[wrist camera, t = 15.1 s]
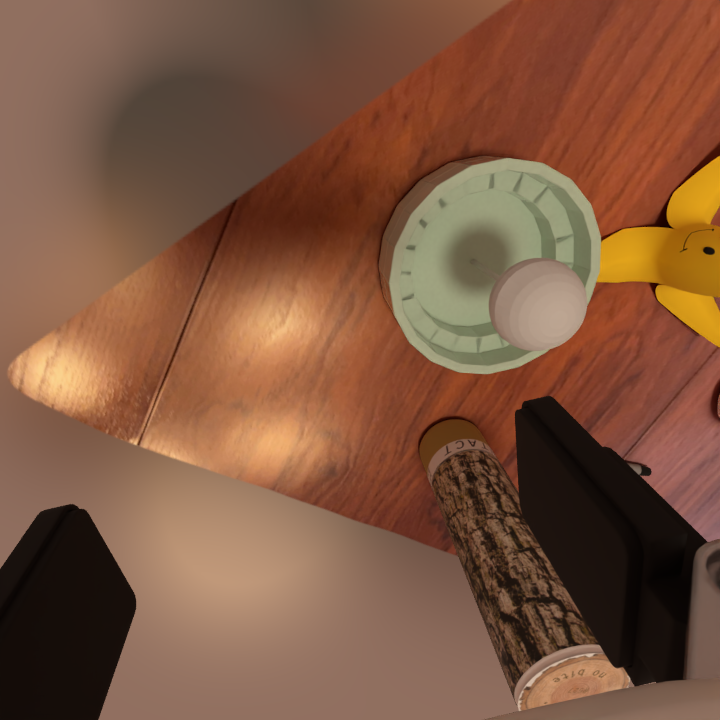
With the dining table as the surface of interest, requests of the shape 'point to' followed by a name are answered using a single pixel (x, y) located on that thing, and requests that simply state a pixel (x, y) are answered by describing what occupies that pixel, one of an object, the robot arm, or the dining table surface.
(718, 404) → the cat figurine
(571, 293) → the lollipop
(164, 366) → the dining table surface
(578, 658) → the paper tube
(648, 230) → the banana peel
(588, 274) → the bowl
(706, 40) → the dining table surface
